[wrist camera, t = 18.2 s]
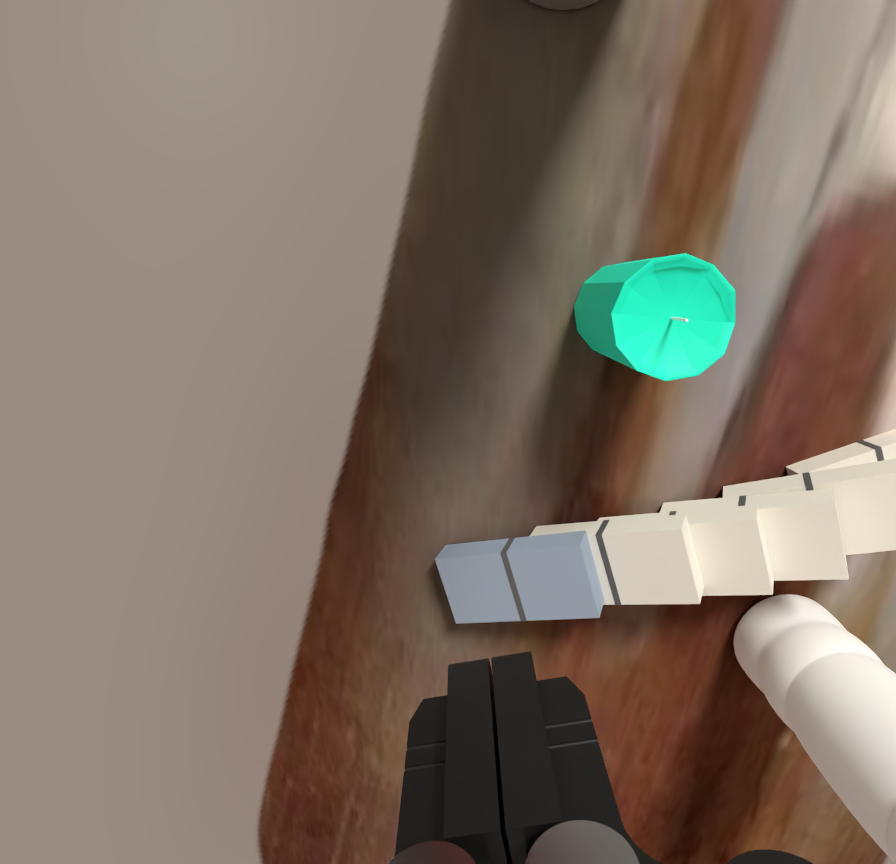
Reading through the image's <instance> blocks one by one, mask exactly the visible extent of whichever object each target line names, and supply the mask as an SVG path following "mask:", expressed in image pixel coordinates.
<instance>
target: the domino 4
mask: <svg viewBox="0 0 896 864" xmlns="http://www.w3.org/2000/svg"><path fill="white" fill-rule="evenodd" d="M747 505H758V507H759V511H760V516H761V520H762V525H763V530H764V534H765V539H766V543H767V548H768V553H769V557H770V562H771V566H772V571H773V575H774V581H788V580H845V579H849V576H848V569H847V562H846V556H845V551H844V545H843V539H842V534H841V528H840V522H839V517H838V511H837V505H836V500H835V494H834V489H822V490H810V491H798V492H786V493H774V494H762V495H750V496H746V495H745V496H738V497H726V498H714V499H702V500H690V501H678V502H666V503H663V505H662V508H661V510H660V513H662V512H670V511H686V510H698V509H710V508H722V507H735V506H747Z"/></svg>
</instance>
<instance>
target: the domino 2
mask: <svg viewBox="0 0 896 864" xmlns="http://www.w3.org/2000/svg"><path fill="white" fill-rule="evenodd" d="M577 531H586V533H587V536H588V540H589V544H590V548H591V551H592V555H593V559H594V563H595V566H596V570H597V574H598V578H599V581H600V585H601V589H602V593H603V596H604V604H603V605H640V604H700V602H701V598H702V593H703V589H704V584H703V580H702V576H701V571H700V567H699V563H698V559H697V555H696V551H695V547H694V543H693V539H692V535H691V531H690V527H689V523H688V519H687V515H686V514H679V515H667V516H655V517H642V518H630V519H618V520H603V521H593V522H581V523H568V524H556V525H544V526H536V528H535V529H534V530H533V532H532V533H531V534H530V536H538V535H547V534H557V533H567V532H577Z"/></svg>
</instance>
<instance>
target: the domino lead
mask: <svg viewBox="0 0 896 864" xmlns="http://www.w3.org/2000/svg"><path fill="white" fill-rule="evenodd" d="M435 561H436V564H437V567H438V570H439V573H440V577H441V580H442V583H443V586H444V589H445V592H446V595H447V598H448V601H449V604H450V607H451V610H452V613H453V616H454V619H455V622H456V624H459V623H484V622H509V621H534V620H559V619H584V618H600V614H601V611H602V607H603V604H604V596H603V593H602V589H601V585H600V581H599V578H598V574H597V570H596V566H595V563H594V559H593V555H592V551H591V548H590V544H589V540H588V536H587V533H586V531H577V532H567V533H557V534H547V535H538V536H528V537H518V538H515V537H514V538H509V539H499V540H489V541H479V542H470V543H460V544H450V545H446V546H445V547H444V548H443V549H442V551H441V552H440V553H439V554H438V556H437V557H436V558H435Z"/></svg>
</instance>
